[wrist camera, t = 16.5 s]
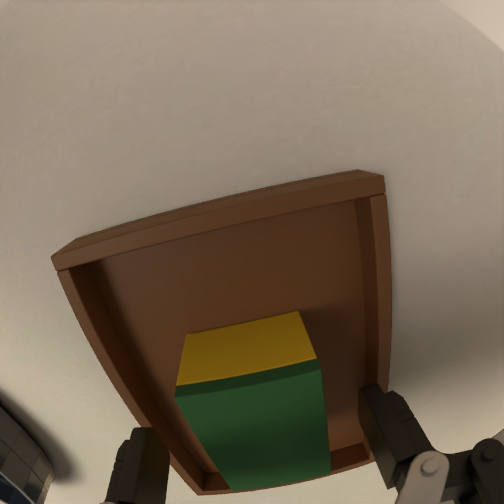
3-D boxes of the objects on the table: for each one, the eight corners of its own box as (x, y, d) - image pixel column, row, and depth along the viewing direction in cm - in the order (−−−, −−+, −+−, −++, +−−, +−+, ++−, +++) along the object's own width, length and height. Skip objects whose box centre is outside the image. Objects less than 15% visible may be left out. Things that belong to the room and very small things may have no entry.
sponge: (185, 333, 12) (172, 397, 8) (298, 309, 12) (321, 369, 8) (231, 436, 14) (232, 491, 11) (315, 419, 14) (331, 473, 11)
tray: (75, 238, 11) (49, 256, 9) (358, 168, 11) (384, 174, 9) (198, 470, 16) (197, 495, 14) (368, 436, 16) (378, 460, 14)
